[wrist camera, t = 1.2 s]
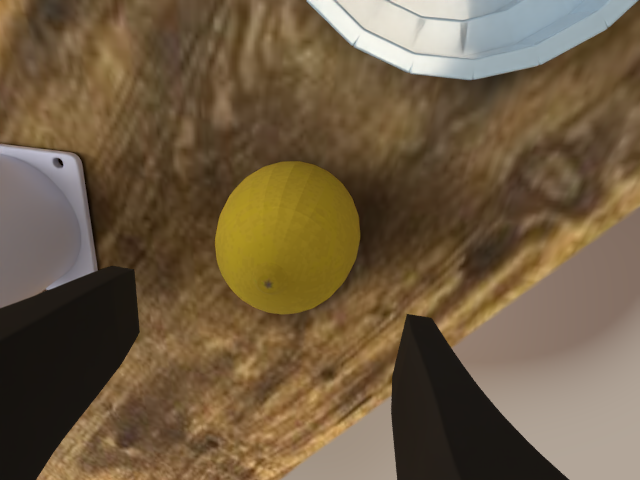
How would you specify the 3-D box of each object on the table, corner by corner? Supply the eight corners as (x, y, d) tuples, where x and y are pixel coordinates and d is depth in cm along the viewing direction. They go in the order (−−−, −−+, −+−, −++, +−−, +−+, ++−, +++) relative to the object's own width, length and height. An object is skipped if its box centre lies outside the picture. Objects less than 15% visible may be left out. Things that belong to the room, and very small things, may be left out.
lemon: (356, 257, 22) (345, 365, 15) (248, 244, 22) (187, 343, 15) (370, 148, 20) (365, 213, 13) (249, 135, 20) (177, 191, 13)
